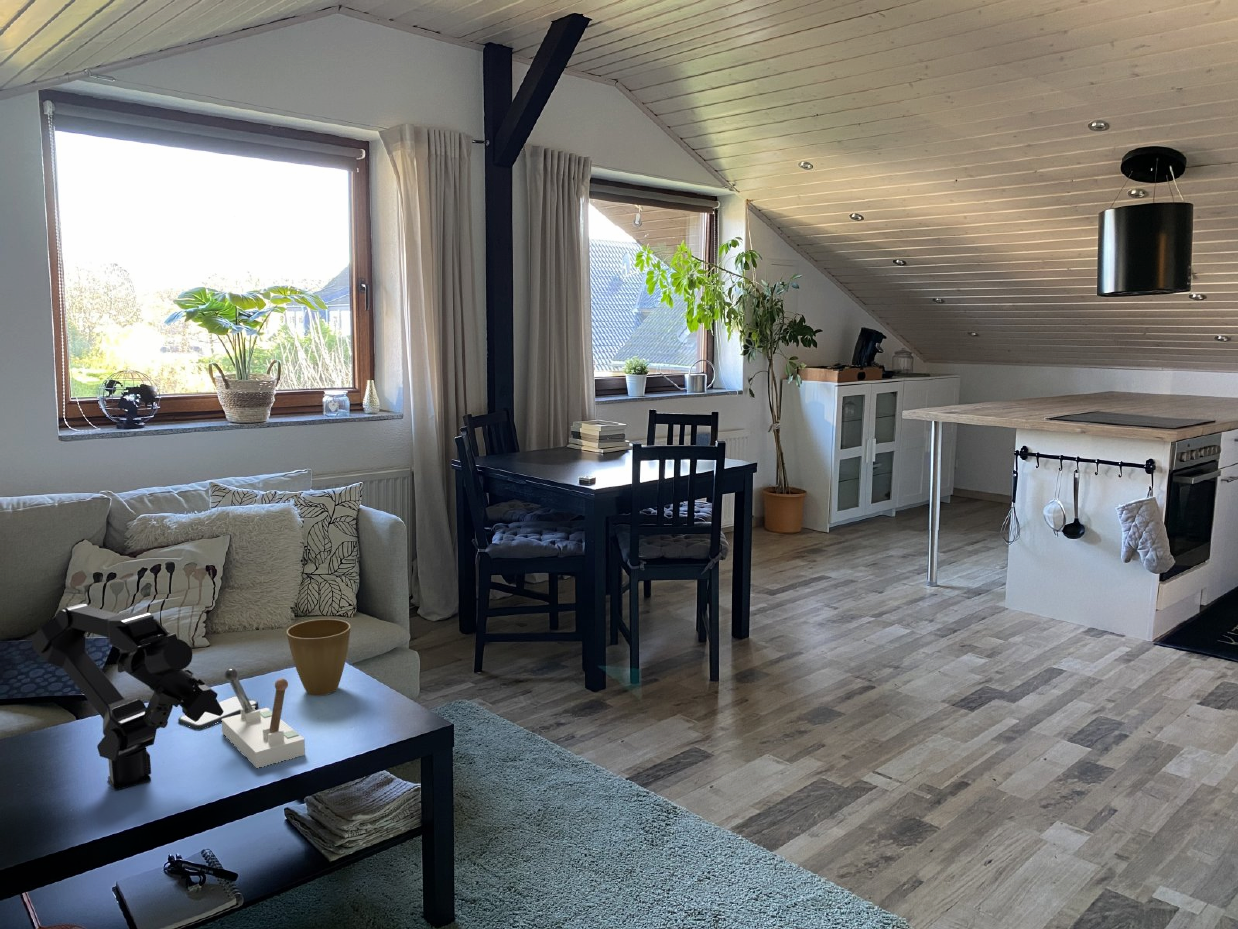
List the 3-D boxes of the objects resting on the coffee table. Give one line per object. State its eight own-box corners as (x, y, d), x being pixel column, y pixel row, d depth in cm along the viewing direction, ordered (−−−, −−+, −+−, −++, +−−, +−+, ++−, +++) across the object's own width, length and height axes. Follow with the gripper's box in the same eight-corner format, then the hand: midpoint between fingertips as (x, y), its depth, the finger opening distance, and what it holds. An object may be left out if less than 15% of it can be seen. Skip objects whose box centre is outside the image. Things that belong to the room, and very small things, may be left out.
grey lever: (246, 719, 206) (224, 674, 202) (242, 715, 208) (220, 671, 204) (257, 712, 207) (236, 668, 203) (253, 708, 209) (232, 665, 205)
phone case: (199, 733, 210) (261, 708, 223) (198, 726, 210) (260, 702, 223) (175, 724, 215) (238, 700, 228) (175, 718, 215) (237, 694, 228)
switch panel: (256, 769, 191) (255, 743, 190) (222, 734, 208) (220, 710, 207) (305, 755, 197) (304, 730, 197) (268, 722, 214) (266, 699, 213)
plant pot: (281, 689, 235) (277, 626, 232) (339, 675, 244) (336, 615, 242) (302, 707, 223) (299, 641, 221) (362, 692, 232) (360, 629, 230)
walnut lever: (269, 736, 195) (278, 680, 195) (264, 732, 197) (273, 677, 197) (281, 736, 197) (290, 680, 197) (277, 732, 199) (286, 676, 199)
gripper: (116, 695, 185) (179, 734, 194) (141, 724, 171) (208, 764, 180) (156, 648, 189) (217, 688, 198) (184, 672, 175) (248, 714, 184)
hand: (221, 713), depth 190 cm, fingers closed
